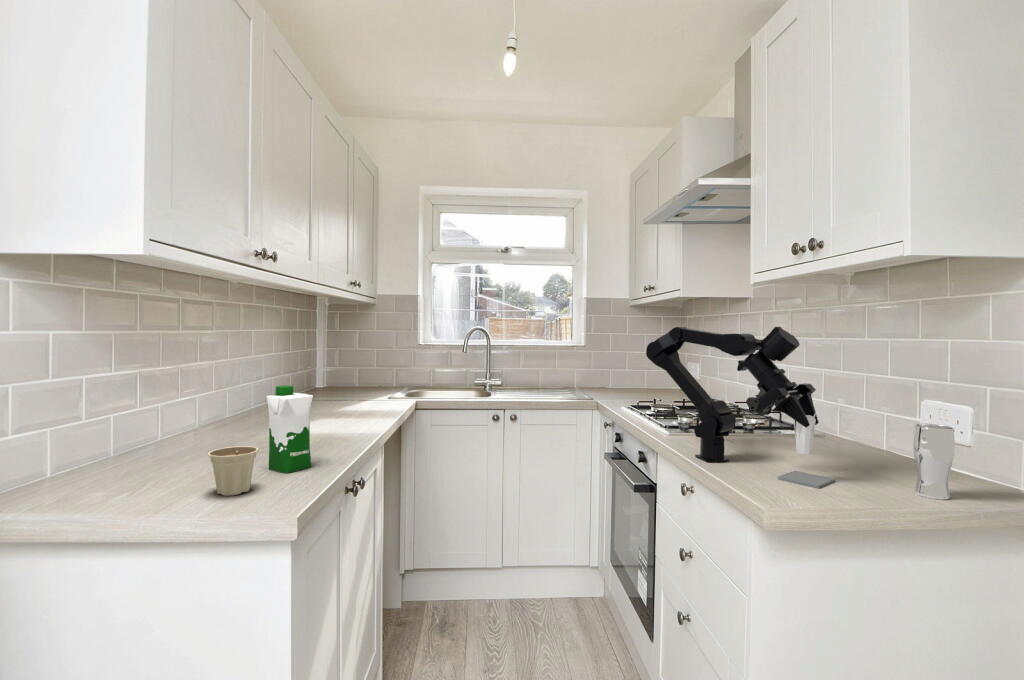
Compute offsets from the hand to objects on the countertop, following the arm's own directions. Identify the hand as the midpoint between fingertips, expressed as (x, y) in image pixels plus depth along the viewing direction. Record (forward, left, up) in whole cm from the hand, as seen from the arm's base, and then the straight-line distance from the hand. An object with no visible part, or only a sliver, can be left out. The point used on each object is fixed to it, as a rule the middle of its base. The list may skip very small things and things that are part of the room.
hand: (812, 425), depth 124 cm
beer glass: (+13, +19, -13) cm, 27 cm away
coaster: (-1, 0, -13) cm, 13 cm away
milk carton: (-32, -120, -13) cm, 125 cm away
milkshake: (-1, -1, -7) cm, 7 cm away
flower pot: (-15, -128, -13) cm, 130 cm away
